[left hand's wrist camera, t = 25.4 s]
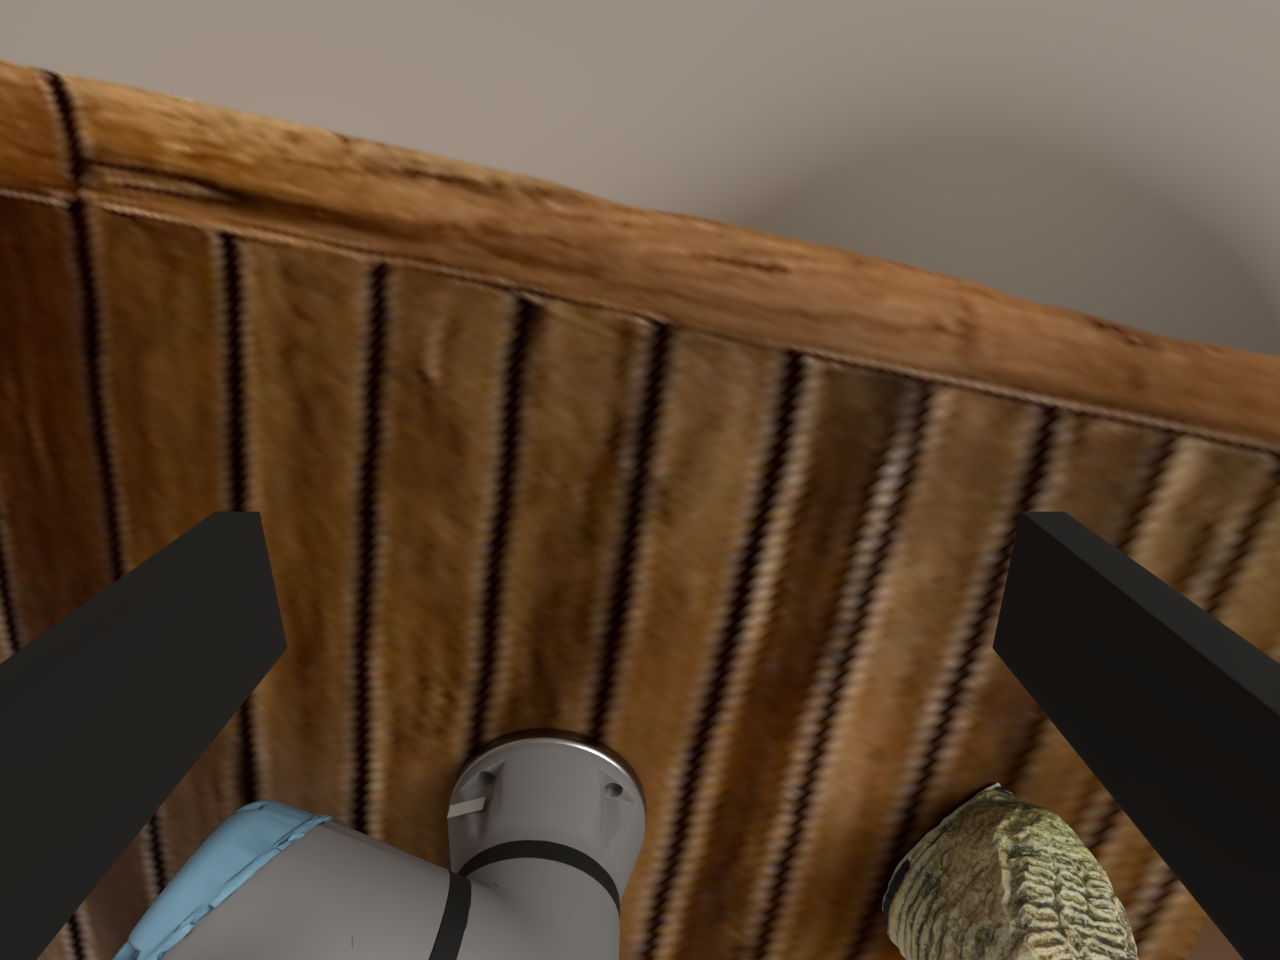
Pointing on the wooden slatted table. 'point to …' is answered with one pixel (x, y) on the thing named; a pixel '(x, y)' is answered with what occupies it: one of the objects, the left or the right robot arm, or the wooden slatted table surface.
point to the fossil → (1004, 890)
